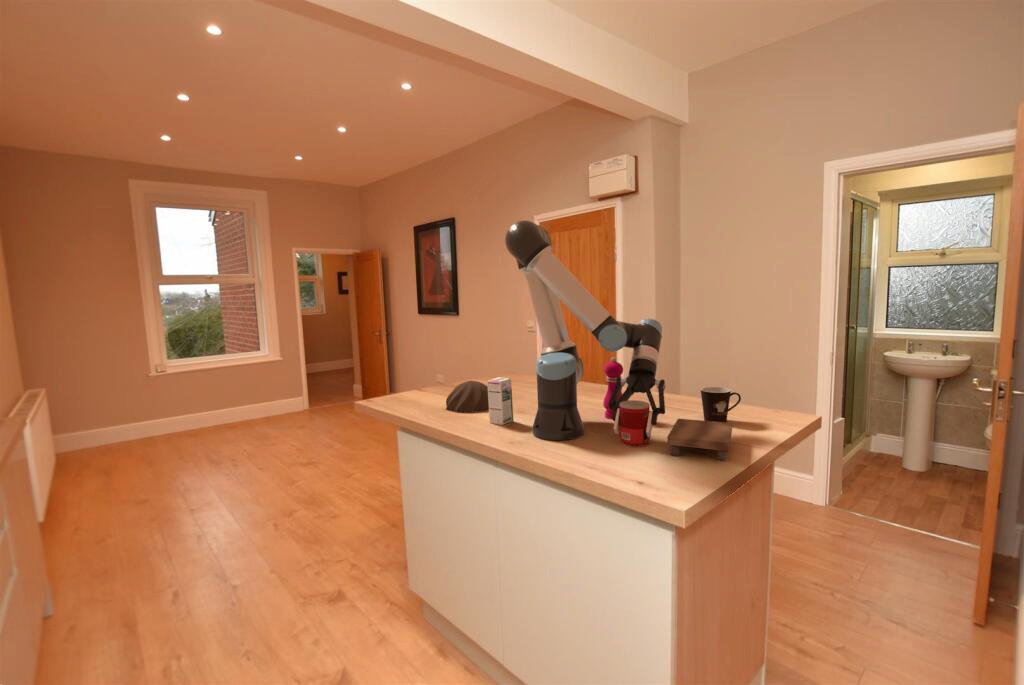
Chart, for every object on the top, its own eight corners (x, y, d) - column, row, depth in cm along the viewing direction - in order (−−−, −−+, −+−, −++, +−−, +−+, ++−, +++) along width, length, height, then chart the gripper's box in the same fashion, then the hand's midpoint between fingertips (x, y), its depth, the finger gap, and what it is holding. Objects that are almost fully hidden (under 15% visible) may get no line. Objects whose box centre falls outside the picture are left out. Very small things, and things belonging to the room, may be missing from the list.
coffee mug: (700, 423, 148) (700, 392, 147) (700, 416, 156) (700, 386, 155) (742, 426, 144) (742, 393, 143) (740, 419, 152) (740, 387, 151)
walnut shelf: (667, 456, 122) (667, 436, 121) (677, 435, 138) (677, 418, 137) (728, 463, 116) (728, 442, 115) (731, 440, 132) (732, 423, 131)
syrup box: (503, 425, 155) (501, 381, 154) (488, 423, 159) (486, 379, 157) (513, 421, 160) (512, 378, 158) (499, 418, 163) (497, 376, 162)
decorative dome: (477, 398, 197) (476, 374, 196) (507, 406, 181) (506, 380, 180) (435, 406, 185) (434, 381, 184) (464, 416, 169) (462, 388, 168)
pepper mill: (628, 415, 161) (628, 356, 159) (621, 420, 155) (620, 359, 153) (608, 413, 165) (607, 355, 163) (600, 418, 159) (599, 358, 157)
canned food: (650, 447, 129) (650, 406, 128) (620, 446, 131) (619, 406, 129) (648, 438, 136) (648, 400, 135) (619, 437, 138) (619, 400, 137)
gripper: (682, 373, 141) (673, 443, 128) (611, 370, 150) (597, 435, 138) (679, 358, 135) (670, 429, 123) (606, 355, 145) (591, 422, 132)
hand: (631, 432), depth 130 cm, fingers closed on canned food, 8 cm apart
